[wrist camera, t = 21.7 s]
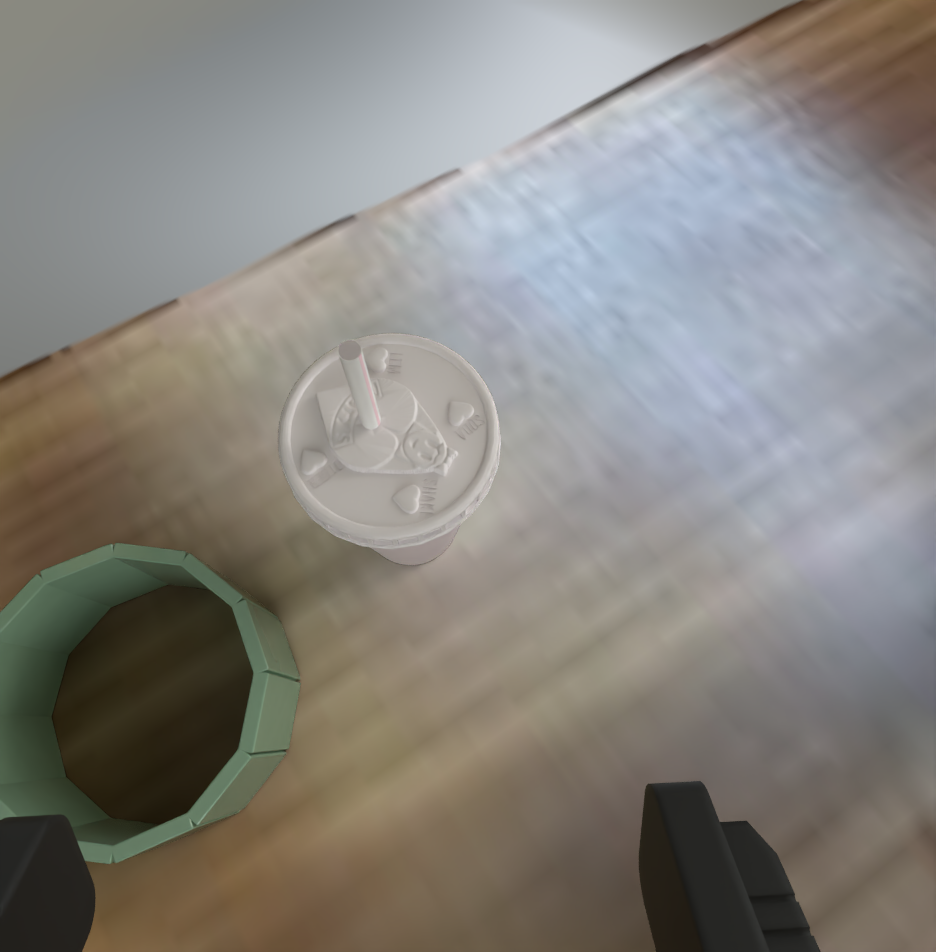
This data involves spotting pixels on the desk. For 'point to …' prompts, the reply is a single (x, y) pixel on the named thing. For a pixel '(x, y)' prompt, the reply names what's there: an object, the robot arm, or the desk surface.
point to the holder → (42, 667)
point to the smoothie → (390, 444)
